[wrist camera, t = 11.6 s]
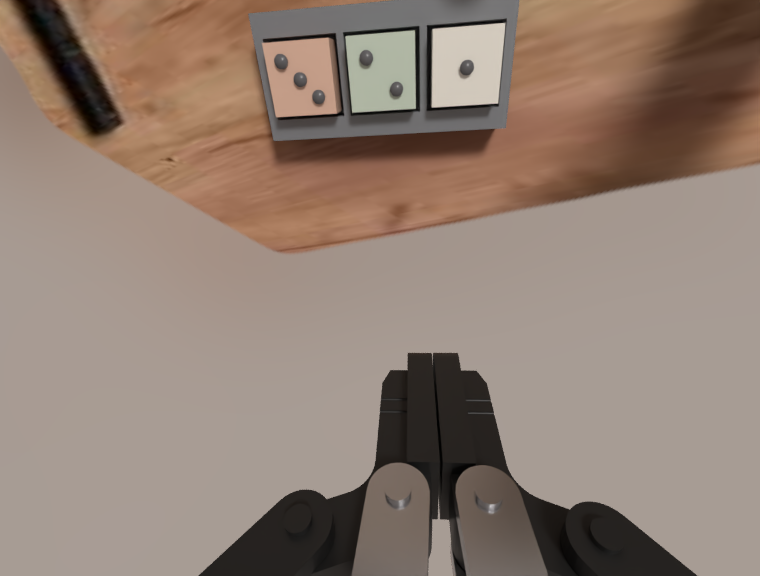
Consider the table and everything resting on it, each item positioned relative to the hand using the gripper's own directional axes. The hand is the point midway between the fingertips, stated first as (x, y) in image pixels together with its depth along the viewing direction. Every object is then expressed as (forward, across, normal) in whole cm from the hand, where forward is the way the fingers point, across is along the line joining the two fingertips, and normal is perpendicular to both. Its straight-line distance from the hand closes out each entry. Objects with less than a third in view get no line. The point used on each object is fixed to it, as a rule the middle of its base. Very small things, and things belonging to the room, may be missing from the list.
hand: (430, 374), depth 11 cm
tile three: (+30, +10, -8) cm, 33 cm away
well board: (+32, +3, -8) cm, 33 cm away
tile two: (+30, +3, -8) cm, 31 cm away
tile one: (+30, -4, -8) cm, 31 cm away
